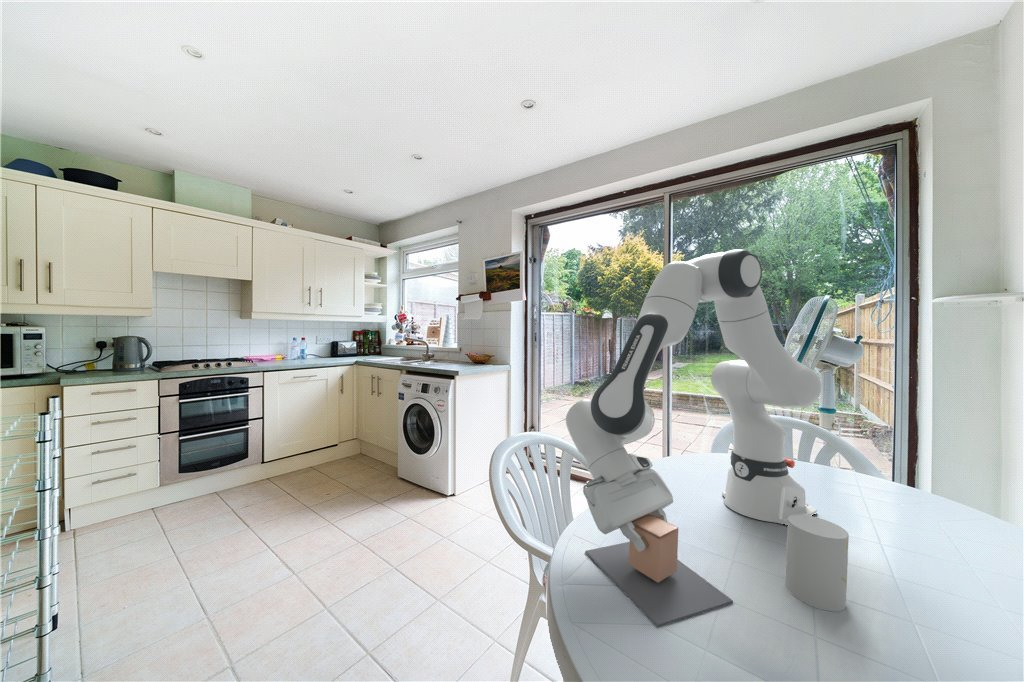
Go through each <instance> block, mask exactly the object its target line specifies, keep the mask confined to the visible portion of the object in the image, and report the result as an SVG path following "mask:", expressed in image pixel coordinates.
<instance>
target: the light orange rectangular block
mask: <svg viewBox="0 0 1024 682" xmlns="http://www.w3.org/2000/svg"><path fill="white" fill-rule="evenodd" d="M631 522H632V524H633V525H634V529H633V530H634V531H635V532H636V533H637V534H638V535H639V536H640V537H643V536H644V537H645V539H646V542H648V544H649V547H648V548H646V549H644V550H642V551H640V552H639V551H638V550H637V549H636V547H635V545H634V543H633V542H631V541H630V540H629V542H630V545H629V565H630V566H632V567H633V568H635V569H637V570H638V571H640V572H642V573H643V574H645V575H646V576H648V577H650V578H651V579H653V580H654V581H656V582H660V581H662V580H663V579H665V578H666V577H668V576H669V575H671V574H672V573H674V572H676V571H677V559H678V547H679V544H678V543H679V526H676V525H675V524H673V523H670V522H668V521H667V522H666V521H664V520H662V519H660V518H657V517H655V516H653V515H651V514H647V515H645V516H643V517H641V518H638V519H636V520H634V521H631Z"/></svg>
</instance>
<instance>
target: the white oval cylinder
mask: <svg viewBox="0 0 1024 682" xmlns="http://www.w3.org/2000/svg"><path fill="white" fill-rule="evenodd" d="M786 526H787V525H786ZM786 528H787V531H786V553H785V554H786V557H785V558H786V559H785V579H784V580H785V583H784V584H785V587H786V589H787V591H788V592H789V593H790V594H791V595H792V596H794V597H795V598H796V599H798V600H800V602H803V603H805V604H807V605H810V606H812V607H814V608H816V609H820V610H824V611H828V612H835V613H836V612H837V613H838V612H841V611H844V610H845V609H846V608H847V587H848V586H847V585H848V583H847V582H848V565H849V564H848V563H849V561H848V560H849V539H850V537H849V532H848V530H846V529H844V528H843V527H842V526H840V525H838V524H836V523H833V522H832V521H829V520H826V519H824V518H820V517H816V516H808V515H790V516H789V517H788V526H787V527H786Z"/></svg>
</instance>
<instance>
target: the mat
mask: <svg viewBox="0 0 1024 682" xmlns="http://www.w3.org/2000/svg"><path fill="white" fill-rule="evenodd" d="M629 545H630V541H626V542H621V543H617V544H613V545H607V546H602V547H598V548H592V549H587V550H585V551H584V553H585V554H586V555H587V556H588V558H590V560H591V561H593V563H595V564H596V565H597V567H598V568H599V569H600V570H601V571H602V572H603V573H604V574H605V575H606V576H607V577H608V578H609V579H610V580H611V582H613V583H614V584H615V585H616V587H618V589H620V590H621V591H622V592H623V594H624V595H625V596H626V597H627V598H628V597H629V598H628V599H629V600H630V601H631V602H632V603H633V604H634V605H635V606H636V607H637V609H639V610H640V611H641V612H642V613H643V615H645V616H646V617H647V618H648V620H650V621H651V622H652V624H653V625H654V626H655V627H656V628H659V627H663V626H666V625H669V624H671V623H676V622H678V621H682V620H684V619H687V618H690V617H693V616H697V615H699V614H703V613H706V612H710V611H713V610H716V609H719V608H722V607H725V606H727V605H731V604H734V600H733V599H732V598H730V597H729V596H727V595H726V594H725V593H723V591H721V590H719V589H718V588H717V587H715V585H713V584H711V583H710V582H709V581H707V580H706V579H705V578H703V577H702V576H701V575H699V574H698V573H697V572H695V571H694V570H692V569H691V568H690V567H688V566H687V565H686V564H685V563H683V562H682V561H681V560H679V559H678V558H677V571H676V572H674V573H672V574H671V575H669V576H668V577H666V578H665V579H663V580H662V581H660V582H656V581H654V580H653V579H651V578H650V577H648V576H646V575H645V574H643V573H642V572H640V571H638V570H637V569H635V568H633V567H632V566H630V565H629Z"/></svg>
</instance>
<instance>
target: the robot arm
mask: <svg viewBox="0 0 1024 682" xmlns="http://www.w3.org/2000/svg"><path fill="white" fill-rule="evenodd" d="M762 269H763V268H762V264H761V262H760V260H759V258H758V257H757V255H755V254H754V253H753V252H751V251H750V250H749V249H748V250H747V249H730V250H728V251H725V252H724V251H722V252H716V253H710V254H704V255H702V256H700V257H695V258H693V259H690V260H687V261H673V262H669V263H667V264H666V265H664V266H663V267H662V268H661V269H660V271H659V272H658V273H657V275H656V277H655V278H654V280H653V282H652V284H651V285H650V287H649V289H648V292H647V293H646V295H645V298H644V301H643V302H642V303H643V304H642V306H641V310H640V311H639V313H638V317H637V321H636V323H635V325H634V327H633V329H632V331H631V333H630V334H629V336H628V338H627V341H626V343H625V345H624V347H623V349H622V351H621V353H620V355H619V358H618V360H617V361H616V364H615V366H614V369H613V370H612V372H611V374H610V375H609V376H608V377H607V378H606V380H605V381H603V382H602V383H601V385H599V386H598V387H597V389H596V390H595V392H594V393H593V395H592V397H591V399H589V398H584V399H581V400H579V401H577V402H576V403H574V404H573V405H572V406H571V407H570V408H569V409H568V411H567V413H566V416H565V425H566V428H567V431H568V434H569V436H570V437H571V440H572V442H573V444H574V446H575V448H576V449H577V451H578V453H579V454H580V455H581V456H582V457H583V459H584V460H585V463H586V467H587V469H588V471H589V474H590V475H591V476H592V479H590V480H587V481H585V483H584V485H583V488H582V493H583V495H584V497H585V499H586V502H587V506H588V508H589V511H590V513H591V516H592V518H593V521H594V523H595V525H596V527H597V529H598V531H600V533H602V534H604V535H607V534H610V533H612V532H614V531H616V530H618V529H619V530H620V532H621V534H622V535H623V536H624V537H625V538H626V539H627V540H629V542H630V541H631V542H633V543H634V545H635V547H636V549H637V550H638V551H639V552H640V551H642V550H644V549H646V548H648V547H649V544H648V542H646V539H645V537H644V536H643V537H640V536H639V535H638V534H637V533H636V532H635V531H634V530H633V529H634V525H633V524H632V522H631V521H634V520H636V519H638V518H641V517H643V516H645V515H647V514H651V515H653V516H655V517H657V518H660V519H662V520H664V521H666V522H668V519H667V514H666V513H665V511H664V510H663V509H665V508H667V507H669V506H670V505H672V504H673V503H674V498H673V497H674V496H673V494H672V492H671V491H670V489H669V487H668V486H667V484H666V483H665V481H664V479H663V478H662V476H660V474H659V473H658V472H657V471H656V470H655V469H653V468H652V467H653V462H652V461H651V459H650V458H649V457H647V456H641V455H636V454H633V453H628V451H627V449H626V448H625V445H628V444H630V443H633V442H636V441H639V440H641V439H643V438H645V437H647V436H648V435H649V434H650V433H651V432H652V430H653V428H654V426H655V418H656V417H655V413H654V410H653V409H652V407H651V406H650V404H649V403H648V401H646V400H645V385H646V383H647V380H648V378H649V375H650V373H651V371H652V369H653V366H654V364H655V361H656V359H657V357H658V354H660V353H659V352H660V351H662V349H663V348H664V347H672V346H675V345H678V344H680V343H681V342H682V341H683V340H684V338H685V337H686V335H687V334H688V332H689V330H690V328H691V326H692V324H693V321H694V318H695V316H696V313H697V309H698V308H699V307H698V306H699V304H700V303H711V302H713V303H714V309H715V310H714V311H715V315H716V317H717V321H718V325H719V329H720V332H721V335H722V339H723V342H724V346H725V347H726V348H727V349H728V350H729V351H731V353H733V354H735V355H737V356H738V357H739V358H741V359H733V360H726V361H720V362H718V363H717V364H716V365H715V366H714V368H713V369H712V372H711V374H710V382H711V385H712V388H713V390H714V391H715V392H716V393H717V394H718V395H719V396H720V397H721V399H723V401H724V403H725V405H726V406H727V408H728V411H729V413H730V416H731V420H732V428H733V429H732V430H733V437H732V439H733V441H732V442H733V447H732V448H733V450H731V453H730V454H731V455H730V465H731V467H730V468H728V471H727V478H726V484H725V490H723V491H722V492H721V493H722V494H721V496H722V497H723V496H724V497H725V498H724V497H723V498H724V499H723V500H724V501H723V502H724V505H725V506H726V507H727V508H729V509H731V510H732V511H734V512H735V513H737V514H740V515H742V516H745V517H748V518H751V519H755V520H759V521H763V522H769V523H775V524H781V525H783V524H785V525H784V526H787V525H788V517H789V516H790V515H808V516H811V515H812V514H814V513H816V512H817V513H818V510H817V509H816V508H815V507H814V506H812V505H811V504H809V503H807V502H806V490H805V488H804V486H802V485H801V484H800V483H799V482H798V481H797V480H795V479H794V478H793V477H792V476H791V475H790V474H789V470H788V468H791V469H793V468H795V466H796V465H795V464H796V462H795V460H793V459H789V458H786V457H785V440H786V439H785V437H786V435H785V429H784V428H783V427H782V425H781V424H780V423H779V422H778V421H776V420H775V419H773V418H772V417H771V415H769V412H768V411H767V409H766V406H765V405H768V406H773V407H774V406H775V407H779V408H786V409H787V408H789V409H792V408H793V409H795V408H798V409H799V408H800V409H801V408H809V407H810V406H812V405H814V404H815V403H816V402H817V400H818V399H819V398H820V395H821V394H822V393H821V392H822V383H821V379H820V378H819V376H818V374H817V372H815V371H814V370H813V369H812V368H809V367H808V366H806V365H805V364H803V363H801V362H800V361H798V359H796V358H795V357H794V356H792V355H791V354H790V353H789V352H788V350H787V349H786V348H785V347H784V345H782V343H781V342H780V340H779V337H778V336H777V334H776V333H777V332H776V331H775V327H774V325H773V322H772V319H771V315H770V310H769V308H768V305H767V304H768V303H767V300H766V297H765V295H764V293H763V290H762V288H761V286H760V283H761V280H762V278H763V277H762V276H763V270H762ZM805 505H807V506H805Z"/></svg>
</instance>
